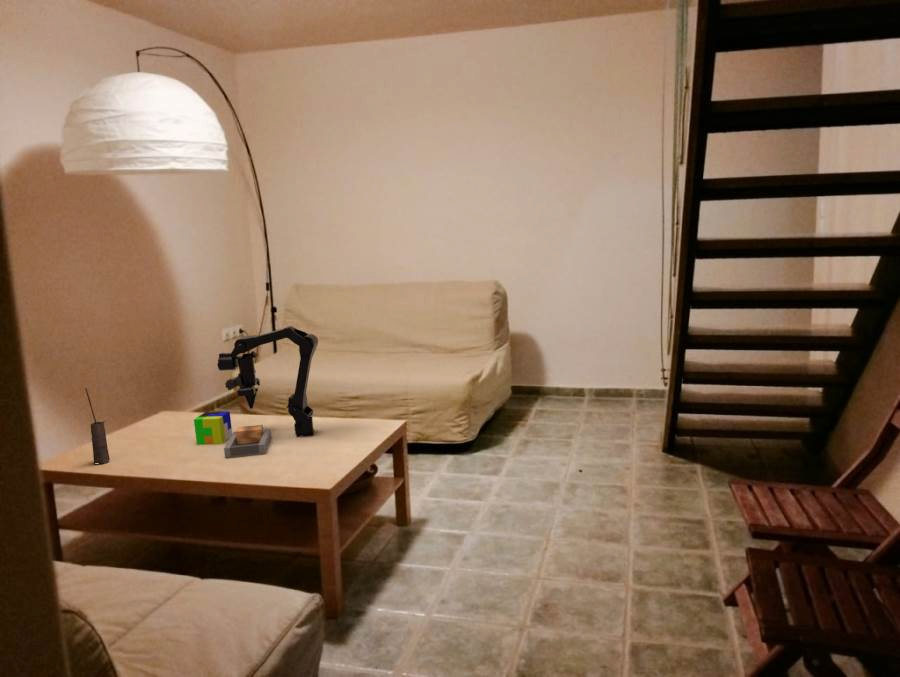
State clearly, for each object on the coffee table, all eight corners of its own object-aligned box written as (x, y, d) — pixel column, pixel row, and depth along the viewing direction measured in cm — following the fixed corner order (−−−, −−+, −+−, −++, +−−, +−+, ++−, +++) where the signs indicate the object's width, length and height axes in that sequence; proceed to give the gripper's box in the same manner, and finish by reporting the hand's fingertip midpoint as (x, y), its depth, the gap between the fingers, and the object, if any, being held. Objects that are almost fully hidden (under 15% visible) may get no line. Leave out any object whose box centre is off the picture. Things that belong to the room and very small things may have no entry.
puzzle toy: (232, 435, 274) (229, 411, 272) (221, 443, 264) (218, 418, 262) (208, 436, 275) (205, 412, 273) (196, 444, 265) (193, 419, 263)
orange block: (264, 437, 266) (262, 424, 265) (262, 442, 260) (260, 429, 259) (239, 439, 265) (238, 427, 264) (237, 444, 259) (235, 431, 258)
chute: (271, 437, 268) (270, 428, 268) (265, 454, 249) (264, 444, 248) (234, 440, 267) (233, 431, 266) (225, 458, 247) (224, 448, 246)
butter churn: (124, 456, 256) (113, 383, 251) (111, 465, 246) (99, 389, 242) (99, 457, 256) (88, 384, 251) (85, 467, 247) (73, 390, 242)
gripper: (229, 366, 275) (234, 404, 278) (220, 376, 257) (225, 417, 259) (258, 363, 276) (262, 401, 279) (251, 373, 258) (256, 414, 261)
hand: (251, 408), depth 269 cm, fingers closed
